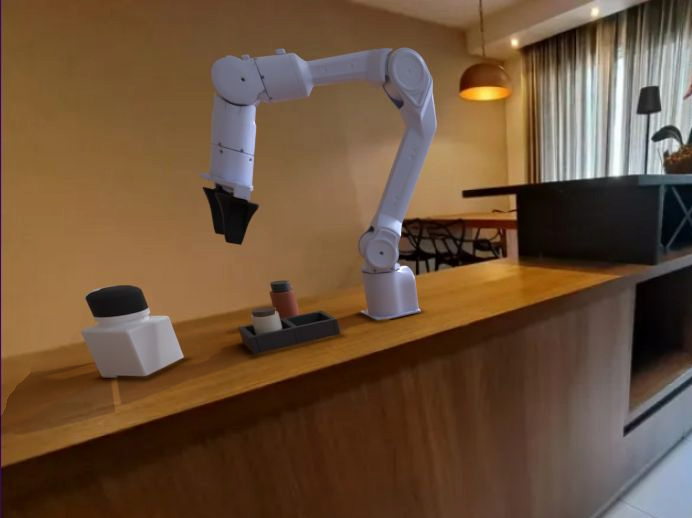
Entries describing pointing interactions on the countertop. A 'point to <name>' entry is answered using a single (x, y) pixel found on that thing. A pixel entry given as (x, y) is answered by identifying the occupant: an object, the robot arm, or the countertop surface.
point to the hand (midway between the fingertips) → (227, 238)
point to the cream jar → (265, 320)
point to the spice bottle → (284, 299)
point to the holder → (291, 332)
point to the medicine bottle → (128, 333)
